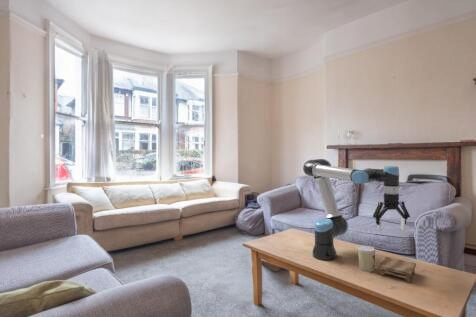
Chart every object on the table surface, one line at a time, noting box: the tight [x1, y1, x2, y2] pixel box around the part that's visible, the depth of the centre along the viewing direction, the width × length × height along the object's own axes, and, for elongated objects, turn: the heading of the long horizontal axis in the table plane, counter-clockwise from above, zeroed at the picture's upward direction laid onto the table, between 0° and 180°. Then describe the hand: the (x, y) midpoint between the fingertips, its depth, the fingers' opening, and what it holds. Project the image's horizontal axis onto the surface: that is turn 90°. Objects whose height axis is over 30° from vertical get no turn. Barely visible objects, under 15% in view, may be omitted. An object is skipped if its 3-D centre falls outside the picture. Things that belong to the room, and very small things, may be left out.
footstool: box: [378, 256, 417, 284], centre depth 146 cm, size 15×15×6 cm
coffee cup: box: [357, 245, 376, 272], centre depth 154 cm, size 9×9×12 cm
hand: (391, 229), depth 152 cm, fingers open, 13 cm apart
